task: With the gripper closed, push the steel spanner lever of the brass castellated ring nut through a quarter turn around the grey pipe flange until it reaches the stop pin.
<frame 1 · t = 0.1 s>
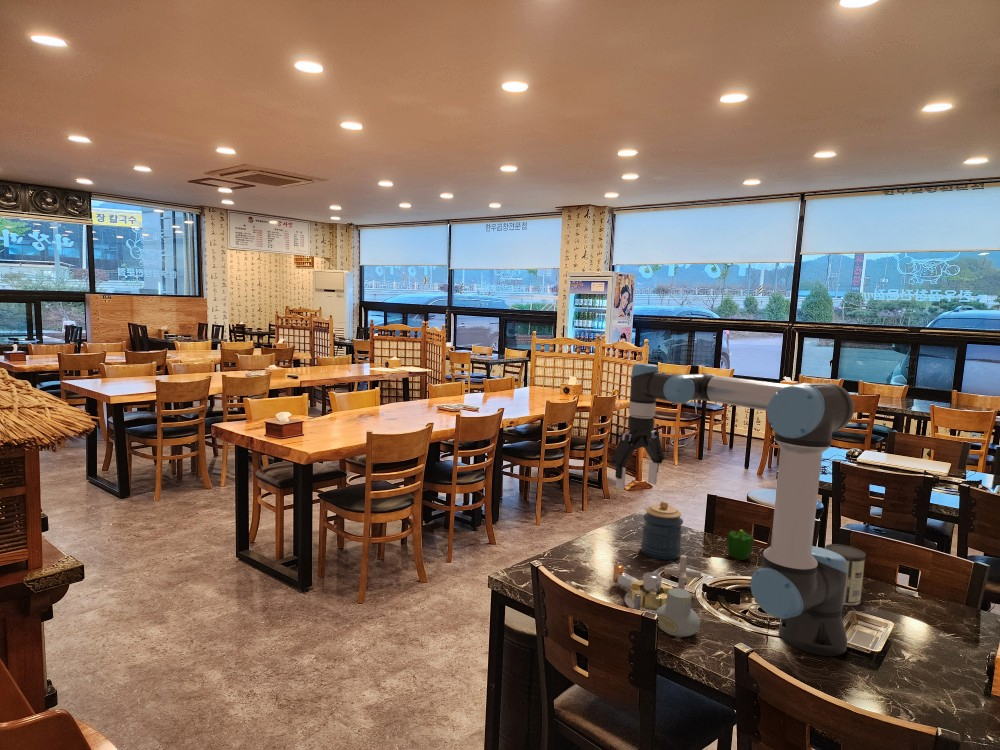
hand: (636, 486, 183), 28 cm above the table, fingers open, 13 cm apart
bell pepper: (738, 557, 204), on the table
pipe connector: (681, 590, 178), on the table
flange: (650, 604, 168), on the table
canister: (660, 553, 205), on the table
air freshener: (676, 631, 154), on the table
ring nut: (639, 585, 171), point 4 cm above the table, hinge at 0.0°
coffee can: (840, 598, 178), on the table
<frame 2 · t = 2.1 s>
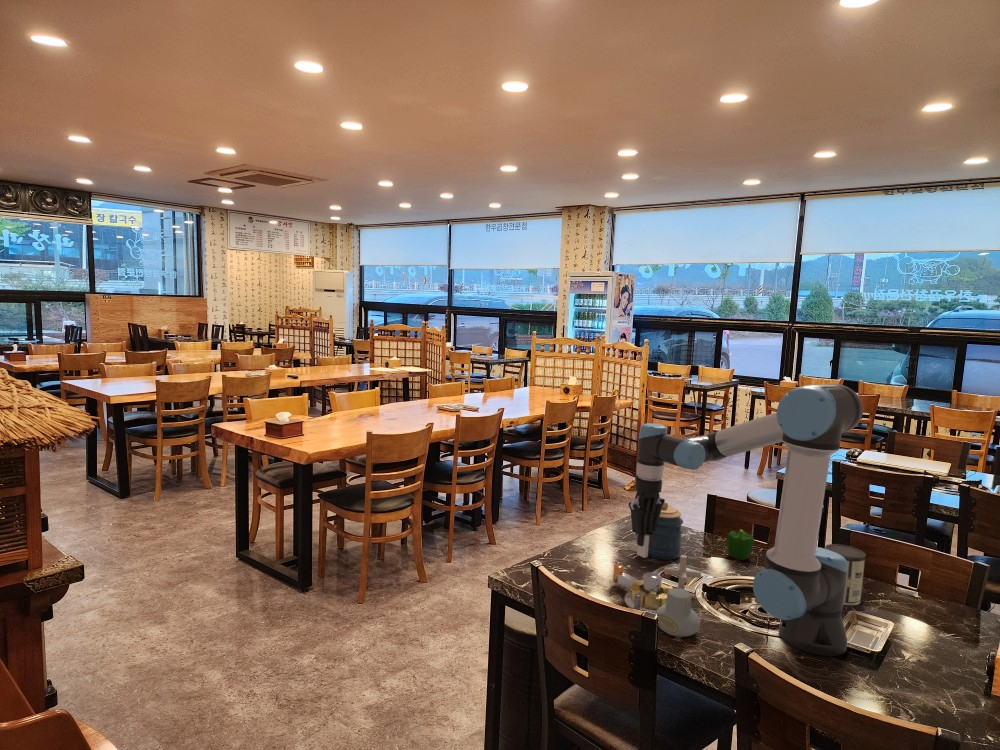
hand: (642, 555, 179), 9 cm above the table, fingers closed
nothing on the table moved.
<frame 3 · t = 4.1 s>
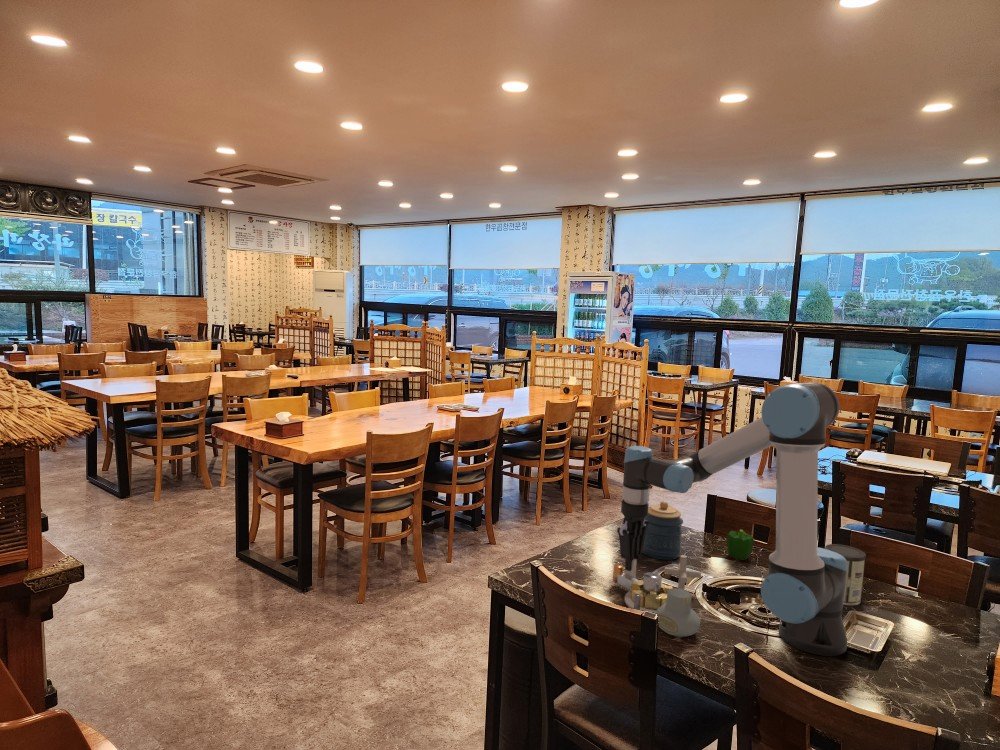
hand: (629, 580, 177), 2 cm above the table, fingers closed
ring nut: (639, 585, 171), point 4 cm above the table, hinge at 0.5°, touching gripper
everything else where it was.
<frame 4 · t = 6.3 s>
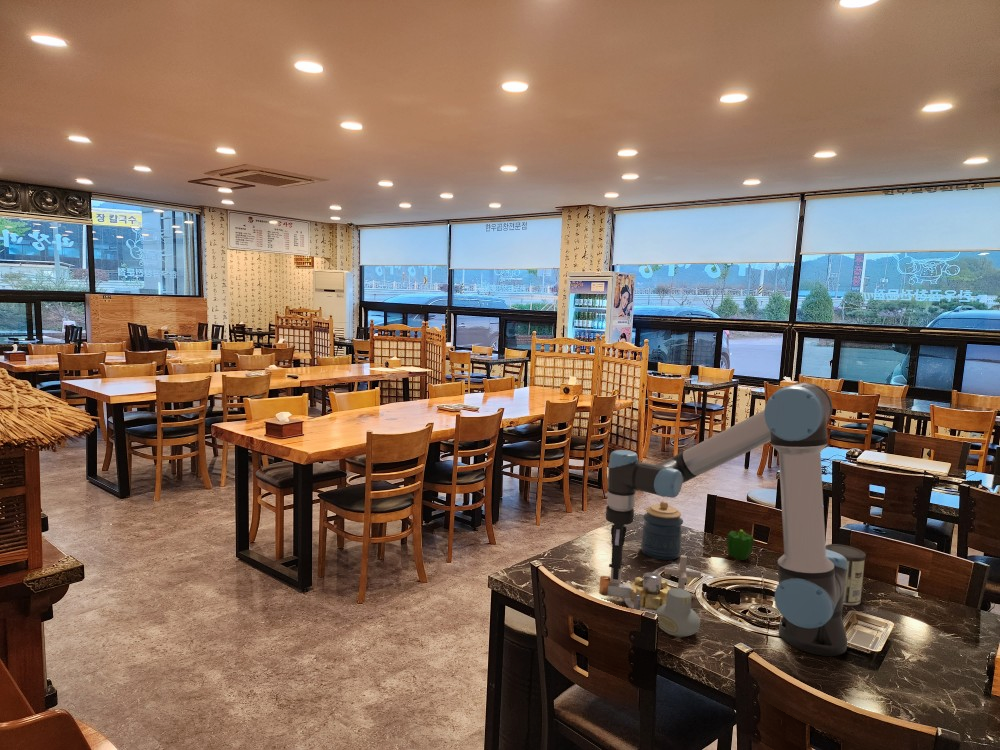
hand: (615, 588, 171), 2 cm above the table, fingers closed
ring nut: (635, 589, 168), point 4 cm above the table, hinge at 46.4°, touching gripper
everything else where it was.
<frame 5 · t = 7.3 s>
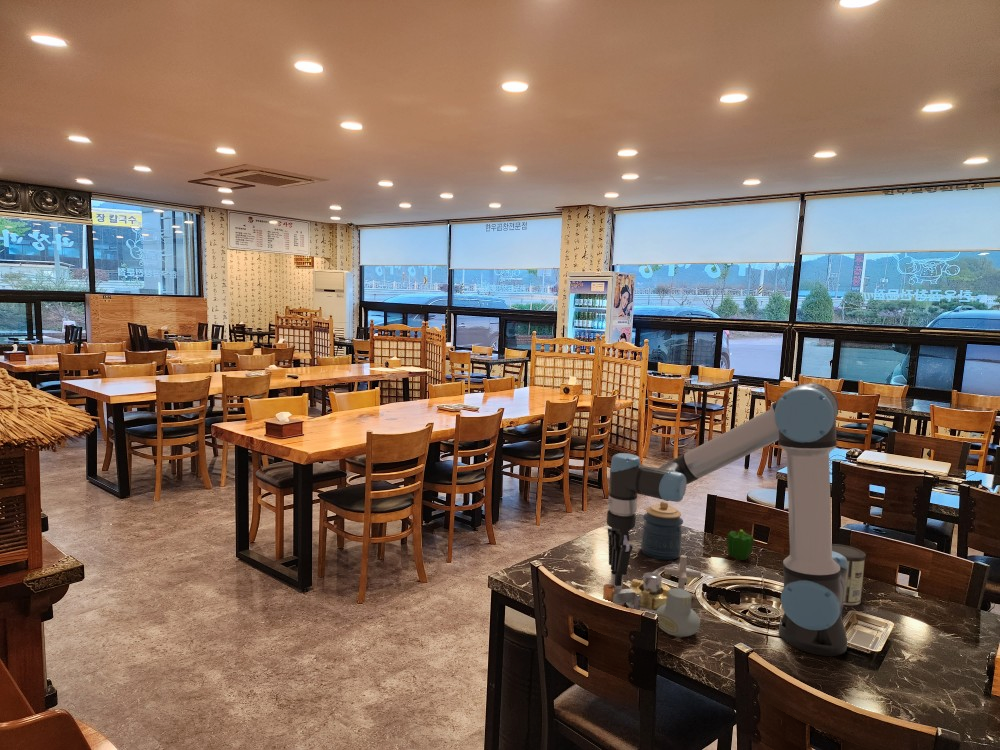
hand: (615, 594, 167), 2 cm above the table, fingers closed
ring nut: (637, 592, 166), point 4 cm above the table, hinge at 69.9°, touching gripper
everything else where it was.
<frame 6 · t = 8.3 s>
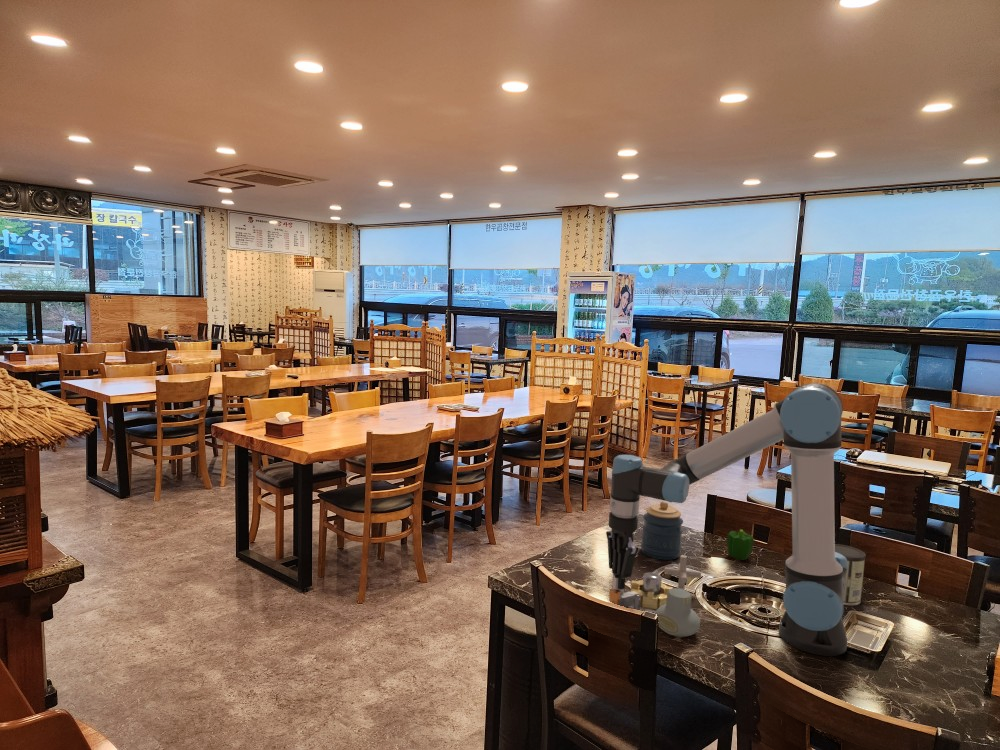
hand: (617, 598, 165), 2 cm above the table, fingers closed
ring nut: (639, 593, 165), point 4 cm above the table, hinge at 83.7°
everything else where it was.
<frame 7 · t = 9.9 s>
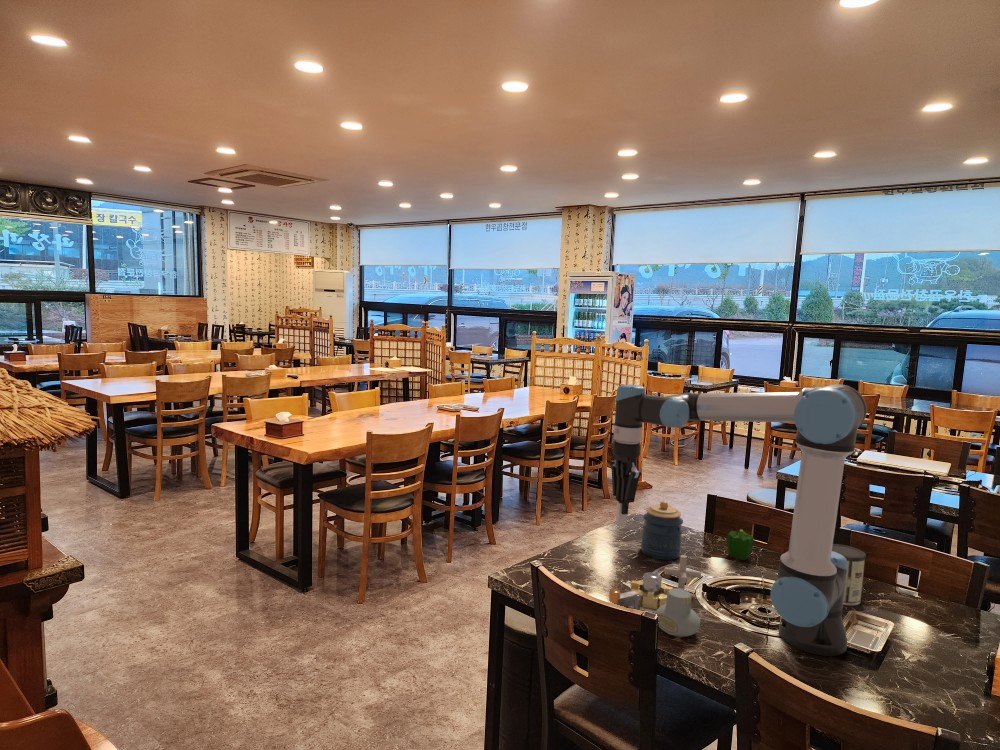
hand: (621, 524, 171), 20 cm above the table, fingers closed
nothing on the table moved.
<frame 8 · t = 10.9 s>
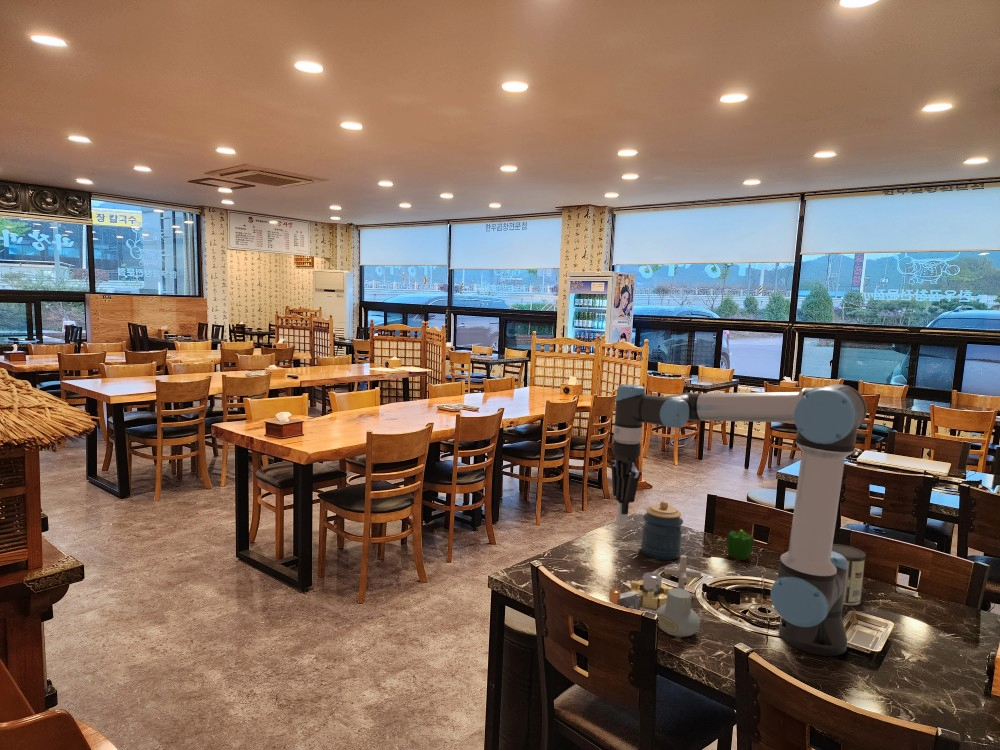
hand: (621, 524, 171), 20 cm above the table, fingers closed
nothing on the table moved.
at the end: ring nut at +84° (first picture: +0°) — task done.
